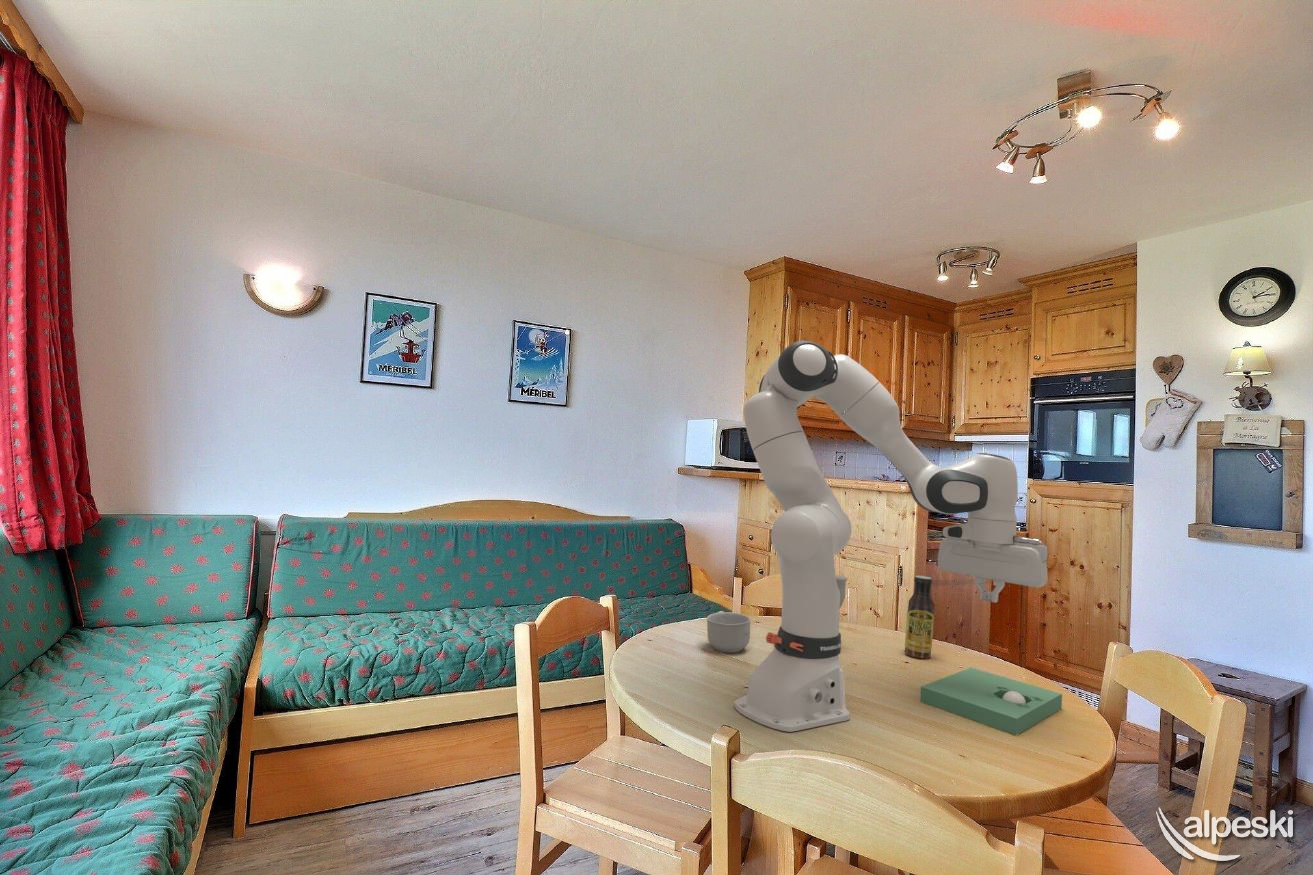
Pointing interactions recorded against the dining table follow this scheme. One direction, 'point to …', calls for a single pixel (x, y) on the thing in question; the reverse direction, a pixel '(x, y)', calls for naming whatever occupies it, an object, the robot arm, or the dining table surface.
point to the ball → (1014, 697)
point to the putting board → (991, 700)
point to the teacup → (728, 631)
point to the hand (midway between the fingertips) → (988, 600)
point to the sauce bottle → (920, 620)
